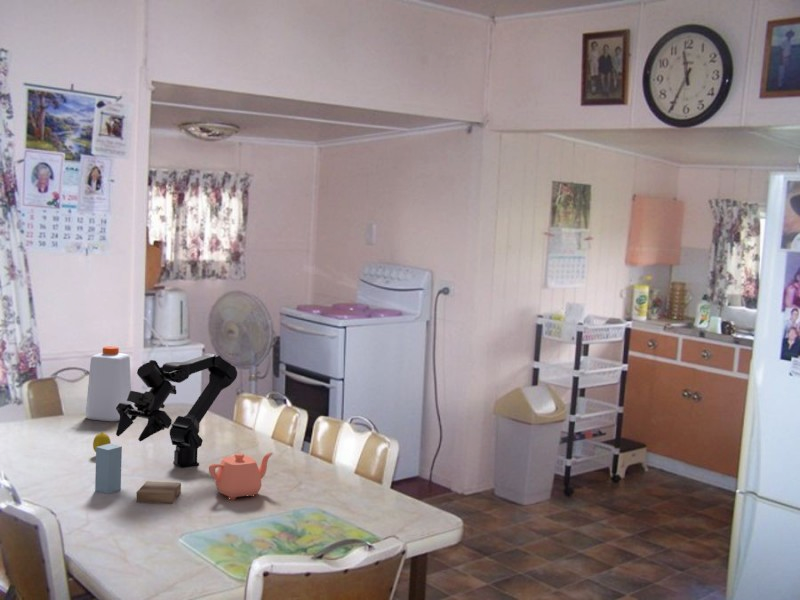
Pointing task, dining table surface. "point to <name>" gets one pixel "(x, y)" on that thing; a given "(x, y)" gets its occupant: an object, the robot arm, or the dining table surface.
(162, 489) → the walnut base
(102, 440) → the lemon
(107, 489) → the blue block
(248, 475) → the teapot
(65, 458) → the dining table surface
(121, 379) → the plastic bottle
